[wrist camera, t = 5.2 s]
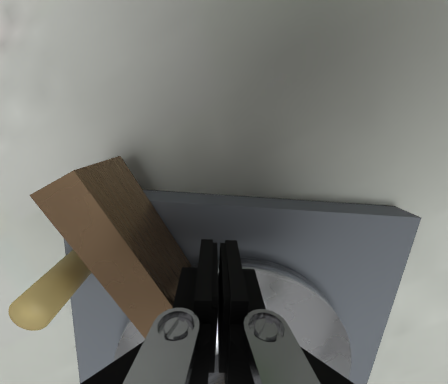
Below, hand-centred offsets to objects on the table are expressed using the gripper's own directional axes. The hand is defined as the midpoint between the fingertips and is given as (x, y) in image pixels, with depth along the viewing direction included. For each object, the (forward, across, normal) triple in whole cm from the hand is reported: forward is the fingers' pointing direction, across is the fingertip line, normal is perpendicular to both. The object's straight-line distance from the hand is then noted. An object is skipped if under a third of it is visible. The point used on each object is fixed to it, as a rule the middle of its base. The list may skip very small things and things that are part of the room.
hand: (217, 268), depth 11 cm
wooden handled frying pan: (+2, 0, +5) cm, 5 cm away
